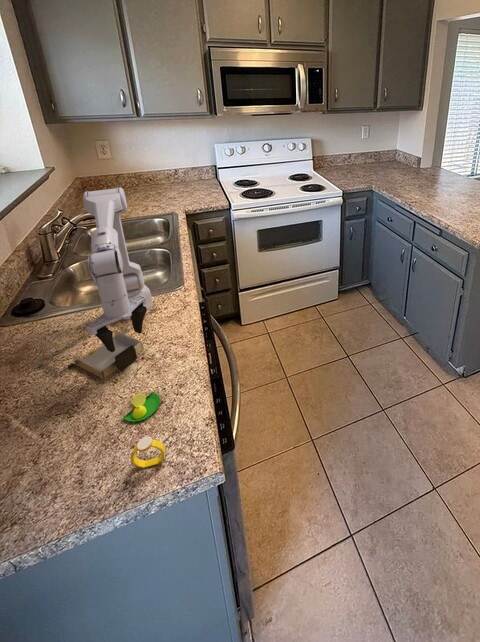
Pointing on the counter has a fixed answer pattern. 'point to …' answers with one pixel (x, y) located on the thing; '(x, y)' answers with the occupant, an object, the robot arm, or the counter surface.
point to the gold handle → (71, 365)
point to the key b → (89, 353)
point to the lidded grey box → (111, 356)
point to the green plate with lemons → (143, 406)
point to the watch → (144, 446)
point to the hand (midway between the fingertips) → (125, 340)
